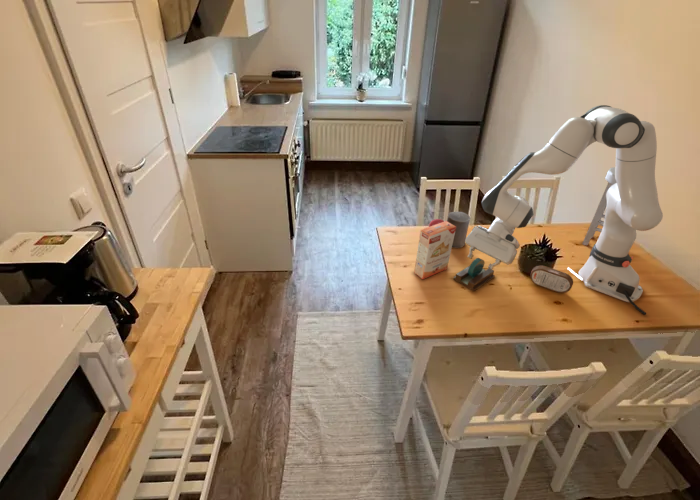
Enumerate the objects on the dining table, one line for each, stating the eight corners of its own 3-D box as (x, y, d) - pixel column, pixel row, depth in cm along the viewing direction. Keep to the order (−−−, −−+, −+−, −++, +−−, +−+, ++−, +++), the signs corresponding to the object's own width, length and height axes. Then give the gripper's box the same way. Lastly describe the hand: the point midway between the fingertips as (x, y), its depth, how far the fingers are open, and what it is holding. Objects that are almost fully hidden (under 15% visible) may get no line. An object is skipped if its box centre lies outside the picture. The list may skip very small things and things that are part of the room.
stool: (584, 231, 189) (613, 163, 170) (620, 243, 181) (654, 173, 161) (576, 244, 179) (605, 173, 160) (613, 256, 171) (648, 184, 151)
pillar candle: (442, 245, 175) (447, 217, 167) (444, 235, 183) (449, 207, 175) (464, 249, 173) (470, 220, 165) (465, 238, 181) (471, 210, 173)
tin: (569, 292, 149) (576, 275, 144) (567, 297, 147) (575, 279, 142) (528, 278, 156) (534, 261, 151) (527, 282, 154) (533, 265, 149)
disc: (482, 273, 156) (486, 257, 152) (470, 280, 152) (474, 264, 148) (477, 270, 158) (481, 254, 153) (466, 278, 153) (470, 262, 149)
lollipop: (441, 245, 176) (446, 216, 167) (443, 254, 169) (448, 225, 161) (424, 244, 176) (429, 215, 168) (425, 253, 170) (430, 223, 162)
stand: (494, 277, 156) (496, 271, 154) (474, 291, 148) (475, 285, 147) (473, 266, 162) (474, 260, 161) (453, 278, 155) (454, 273, 153)
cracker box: (423, 280, 153) (430, 236, 142) (413, 272, 158) (419, 228, 146) (448, 269, 160) (457, 226, 148) (438, 262, 164) (445, 219, 153)
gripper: (474, 220, 156) (455, 249, 156) (520, 241, 143) (500, 272, 143) (478, 226, 161) (460, 254, 161) (523, 247, 148) (503, 277, 148)
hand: (479, 263), depth 152 cm, fingers open, 8 cm apart
